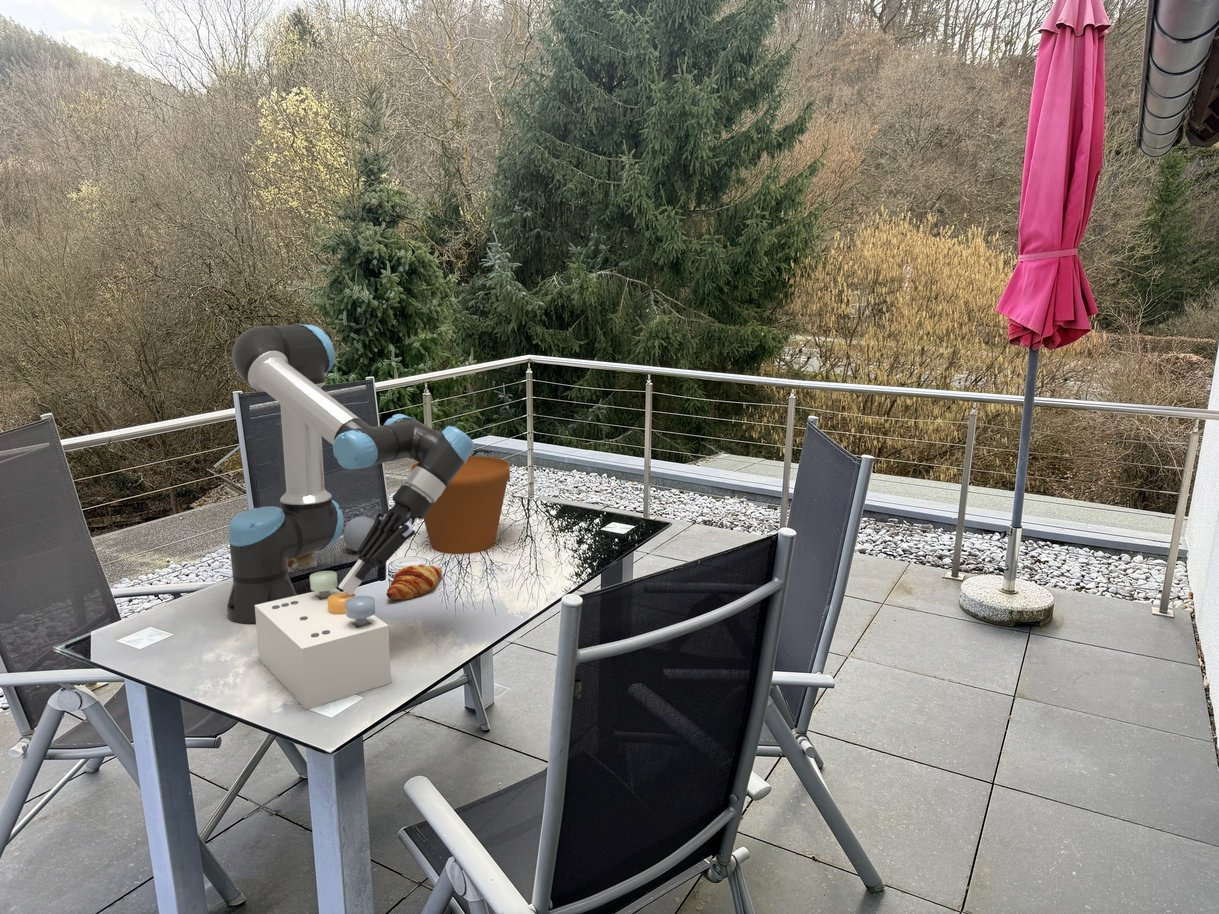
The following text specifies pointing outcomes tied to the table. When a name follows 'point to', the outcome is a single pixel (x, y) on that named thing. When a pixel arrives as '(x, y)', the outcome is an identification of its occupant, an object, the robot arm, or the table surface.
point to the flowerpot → (469, 507)
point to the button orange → (338, 602)
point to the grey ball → (357, 531)
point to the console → (321, 649)
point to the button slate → (360, 609)
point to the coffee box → (302, 562)
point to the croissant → (413, 581)
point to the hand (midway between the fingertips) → (344, 591)
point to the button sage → (323, 583)
